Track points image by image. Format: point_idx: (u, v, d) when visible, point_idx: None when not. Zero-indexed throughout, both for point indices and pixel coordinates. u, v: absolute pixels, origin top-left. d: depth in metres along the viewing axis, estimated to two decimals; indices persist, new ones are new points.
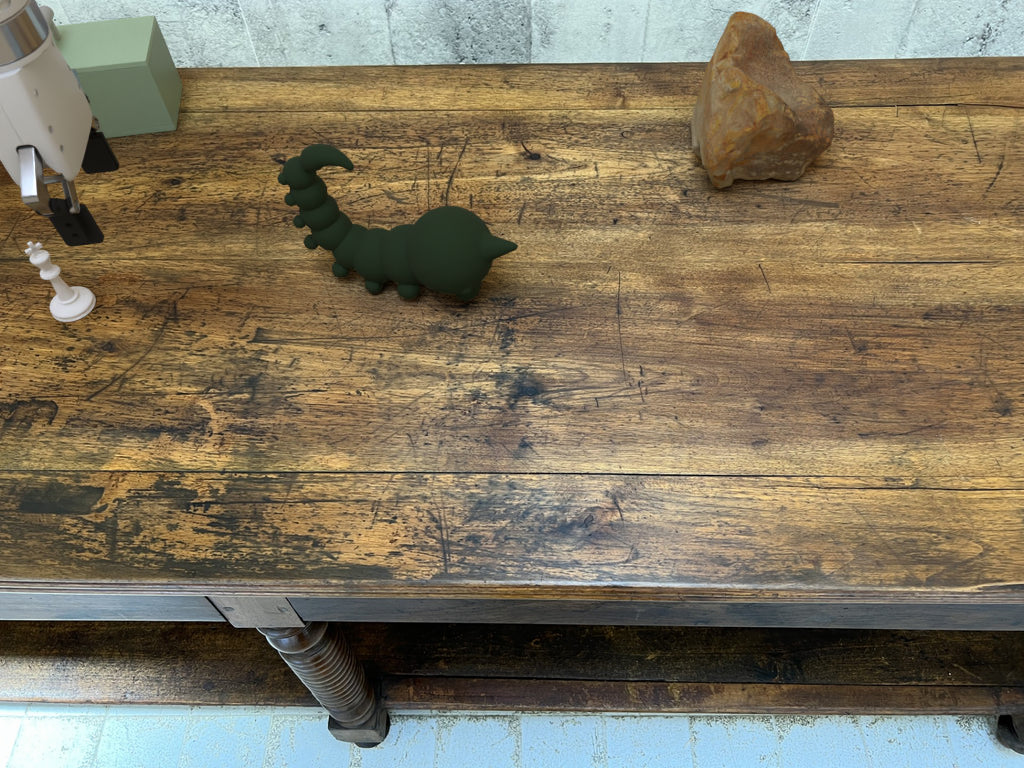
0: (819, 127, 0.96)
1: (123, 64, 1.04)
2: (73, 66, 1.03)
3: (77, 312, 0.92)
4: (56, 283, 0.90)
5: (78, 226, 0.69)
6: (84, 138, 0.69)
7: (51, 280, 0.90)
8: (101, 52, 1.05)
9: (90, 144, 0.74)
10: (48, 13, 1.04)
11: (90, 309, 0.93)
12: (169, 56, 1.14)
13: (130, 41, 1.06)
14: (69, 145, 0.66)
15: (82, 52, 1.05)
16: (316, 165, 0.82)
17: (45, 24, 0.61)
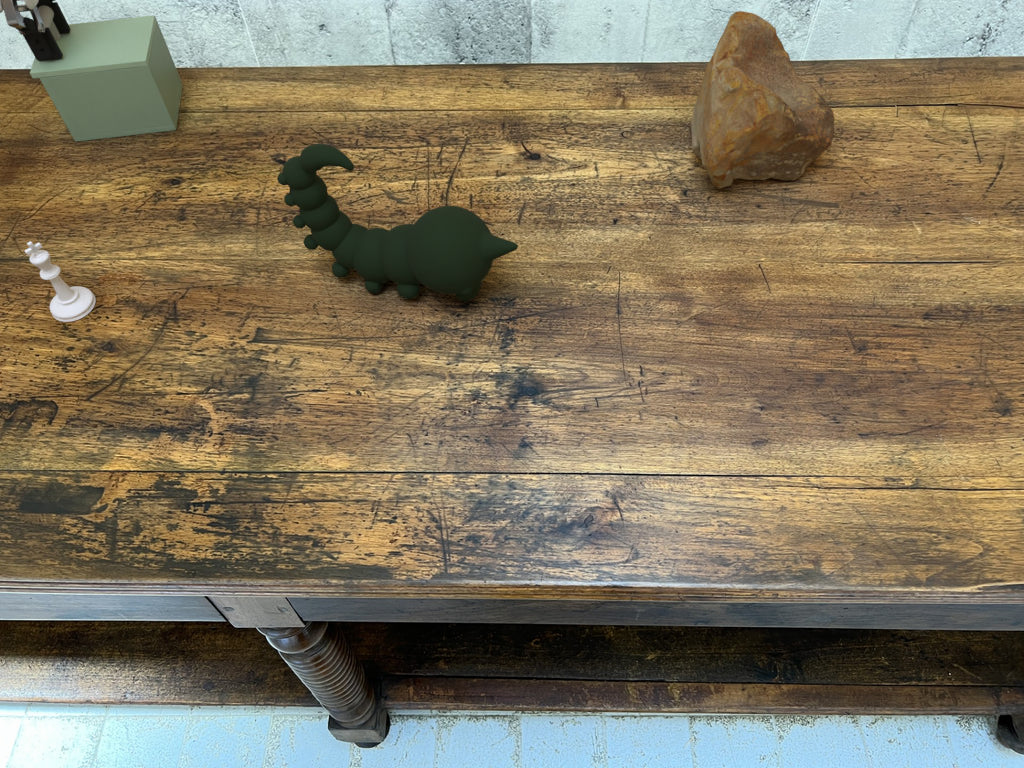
0: (819, 127, 0.96)
1: (123, 64, 1.04)
2: (73, 66, 1.03)
3: (77, 312, 0.92)
4: (56, 283, 0.90)
5: (44, 43, 1.01)
6: None
7: (51, 280, 0.90)
8: (101, 52, 1.05)
9: None
10: (48, 13, 1.04)
11: (90, 309, 0.93)
12: (169, 56, 1.14)
13: (130, 41, 1.06)
14: None
15: (82, 52, 1.05)
16: (315, 165, 0.82)
17: None
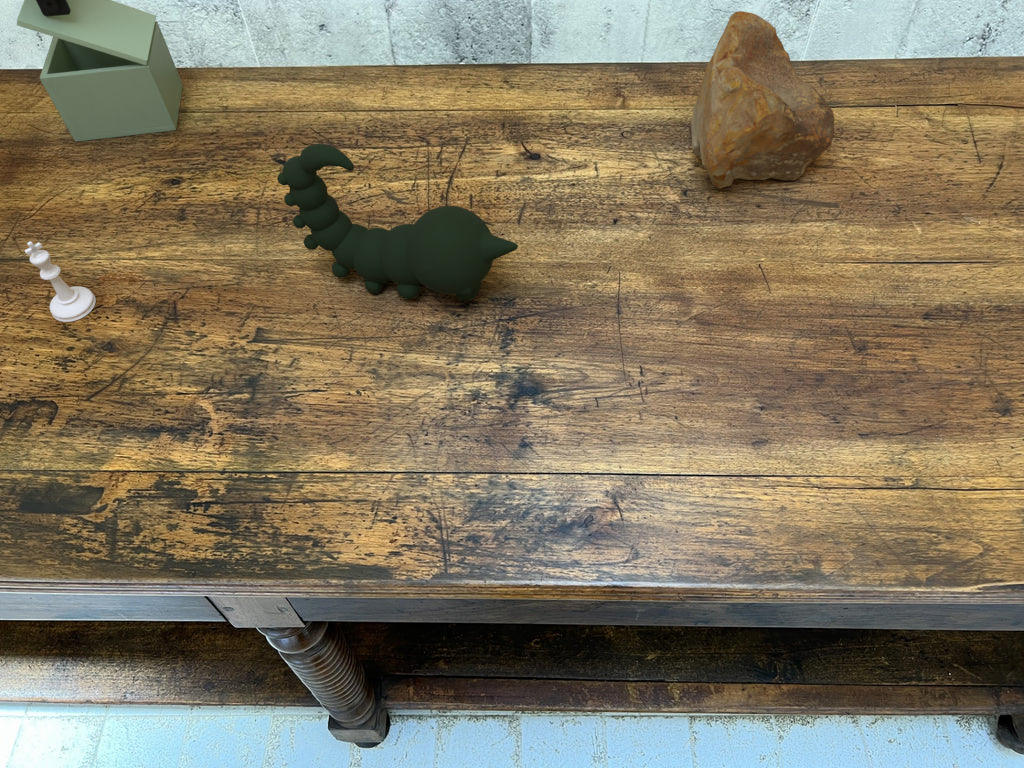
0: (819, 127, 0.96)
1: (122, 54, 1.03)
2: (67, 33, 1.00)
3: (77, 312, 0.92)
4: (56, 283, 0.90)
5: None
6: None
7: (51, 280, 0.90)
8: (99, 31, 1.03)
9: None
10: None
11: (90, 309, 0.93)
12: (169, 56, 1.14)
13: (130, 32, 1.05)
14: None
15: (77, 22, 1.02)
16: (316, 165, 0.82)
17: None
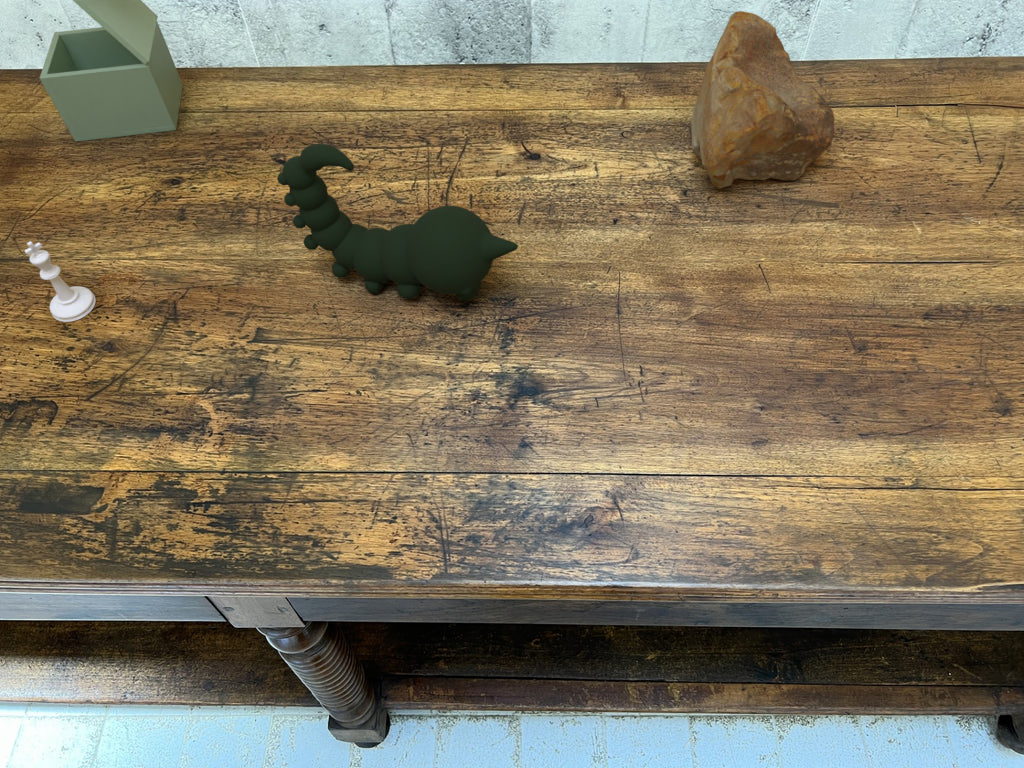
0: (819, 127, 0.96)
1: (128, 45, 1.02)
2: (86, 3, 0.97)
3: (77, 312, 0.92)
4: (56, 283, 0.90)
5: None
6: None
7: (51, 280, 0.90)
8: (112, 13, 1.01)
9: None
10: None
11: (90, 309, 0.93)
12: (169, 56, 1.14)
13: (137, 25, 1.05)
14: None
15: None
16: (315, 165, 0.82)
17: None
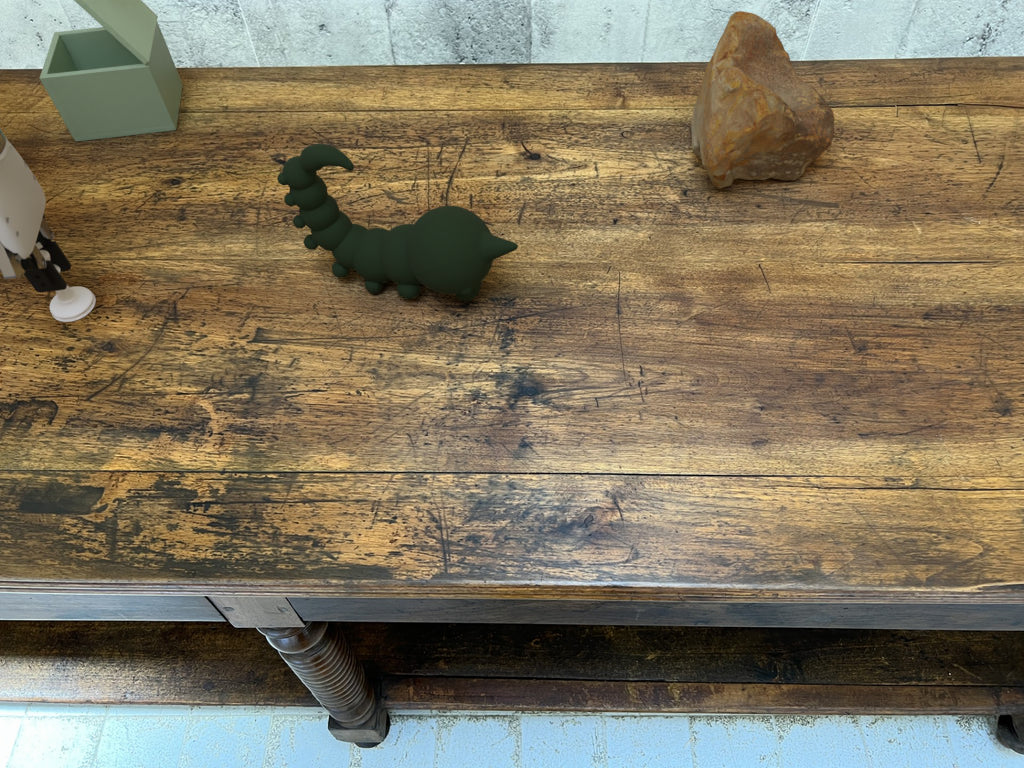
0: (819, 127, 0.96)
1: (129, 45, 1.02)
2: (87, 2, 0.97)
3: (77, 312, 0.92)
4: None
5: (45, 278, 0.87)
6: (37, 220, 0.84)
7: None
8: (113, 12, 1.01)
9: None
10: None
11: (90, 309, 0.93)
12: (169, 56, 1.14)
13: (137, 25, 1.05)
14: (23, 230, 0.81)
15: None
16: (315, 165, 0.82)
17: (2, 138, 0.76)
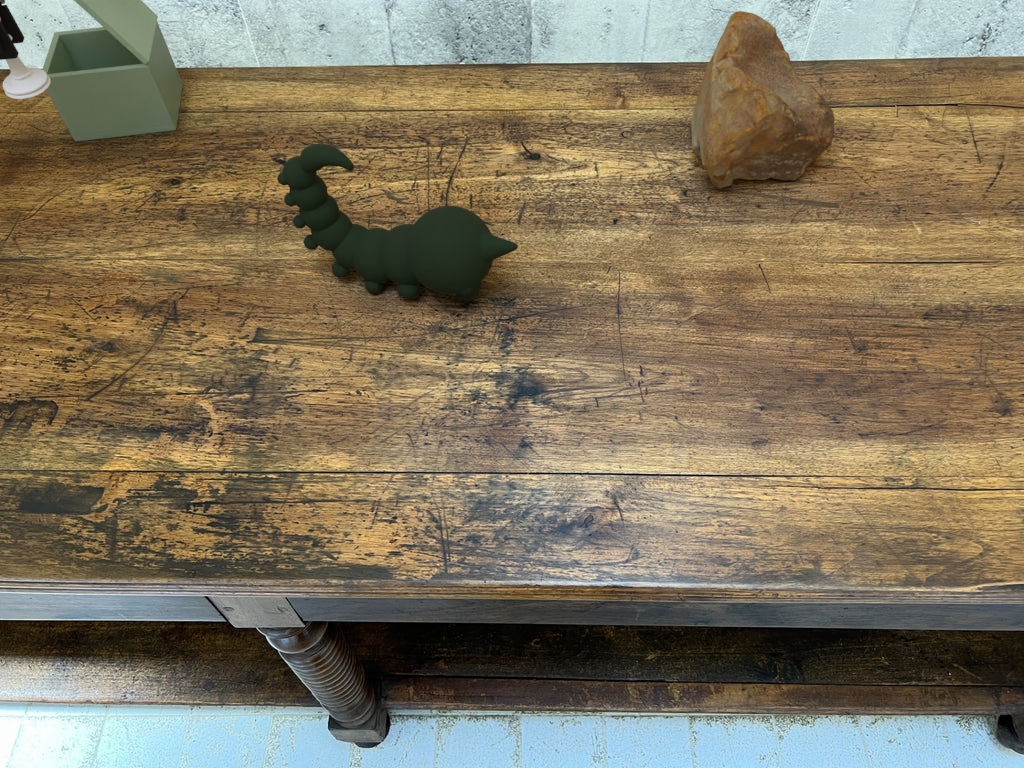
0: (819, 127, 0.96)
1: (129, 45, 1.02)
2: (87, 2, 0.97)
3: (30, 89, 0.90)
4: None
5: None
6: None
7: None
8: (113, 12, 1.01)
9: None
10: None
11: (44, 88, 0.91)
12: (169, 56, 1.14)
13: (137, 25, 1.05)
14: None
15: None
16: (315, 165, 0.82)
17: None
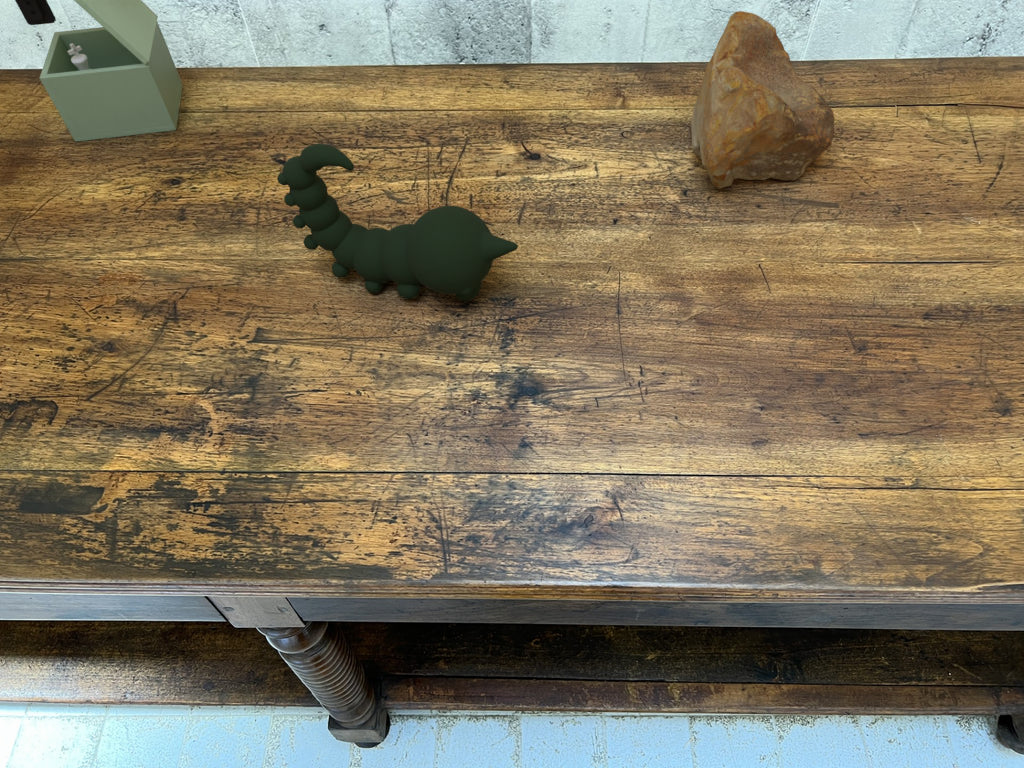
0: (819, 127, 0.96)
1: (129, 45, 1.02)
2: (87, 2, 0.97)
3: None
4: None
5: (35, 5, 0.96)
6: None
7: None
8: (113, 12, 1.01)
9: None
10: None
11: None
12: (169, 56, 1.14)
13: (137, 25, 1.05)
14: None
15: None
16: (315, 165, 0.82)
17: None
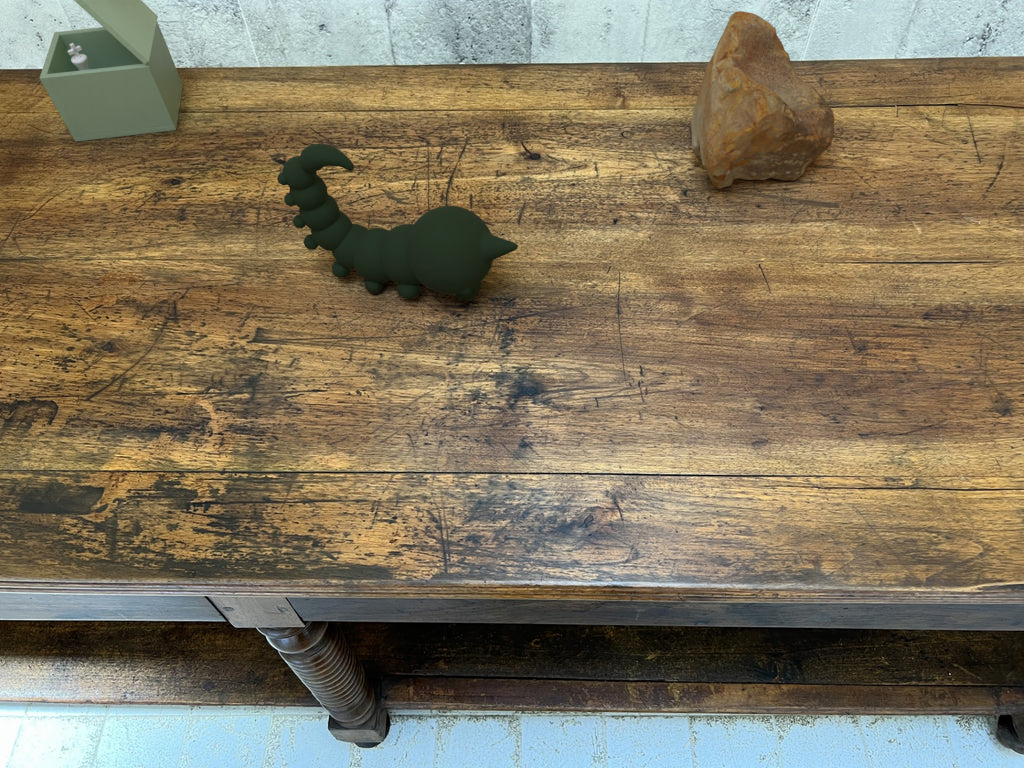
0: (819, 127, 0.96)
1: (129, 45, 1.02)
2: (87, 2, 0.97)
3: None
4: None
5: None
6: None
7: None
8: (113, 12, 1.01)
9: None
10: None
11: None
12: (169, 56, 1.14)
13: (137, 25, 1.05)
14: None
15: None
16: (315, 165, 0.82)
17: None
